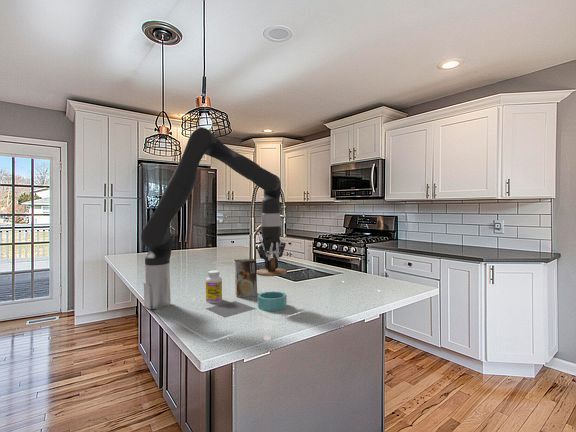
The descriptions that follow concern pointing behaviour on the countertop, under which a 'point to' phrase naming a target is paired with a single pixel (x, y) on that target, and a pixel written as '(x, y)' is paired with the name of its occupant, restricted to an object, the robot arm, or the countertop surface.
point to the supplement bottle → (213, 287)
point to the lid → (271, 270)
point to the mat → (230, 309)
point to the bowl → (272, 301)
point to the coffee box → (245, 278)
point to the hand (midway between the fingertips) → (271, 268)
